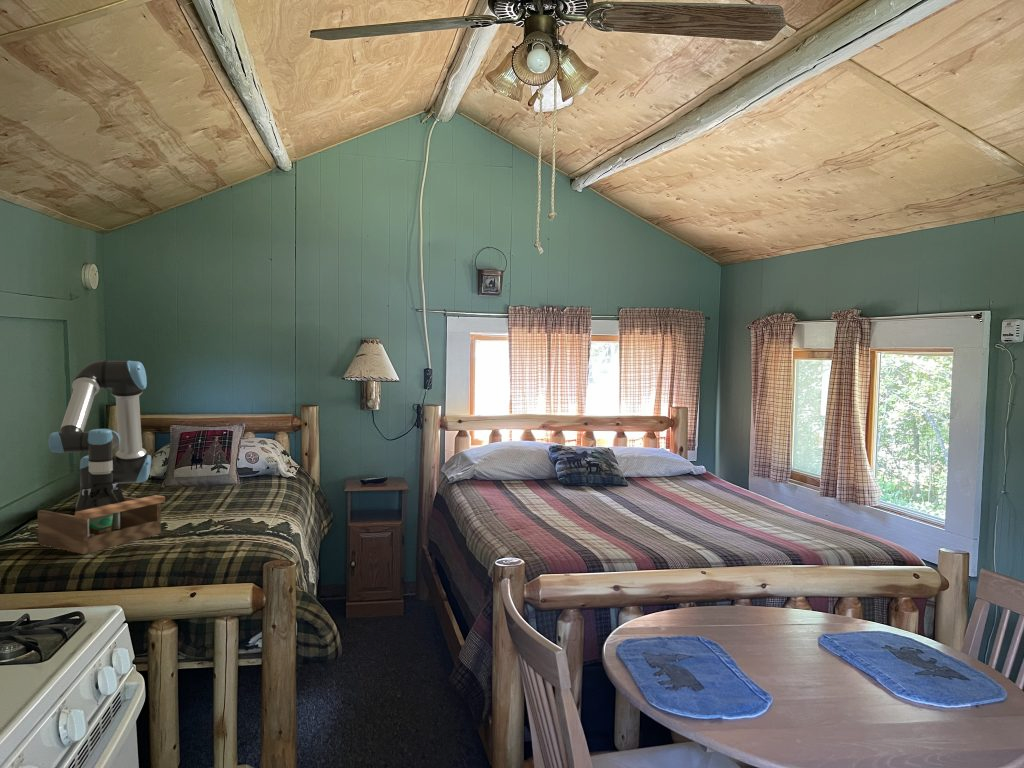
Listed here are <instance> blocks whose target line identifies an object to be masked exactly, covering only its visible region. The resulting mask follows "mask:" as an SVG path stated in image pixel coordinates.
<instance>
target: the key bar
mask: <svg viewBox="0 0 1024 768" xmlns="http://www.w3.org/2000/svg"><path fill="white" fill-rule="evenodd" d="M165 502H166V497H165V496H163V495H157V494H154V495H150V496H149V495H148V496H145V497H141V498H139V499H134V500H130V501H125V502H120V503H115V504H110V505H106V506H101V507H96V508H91V509H87V510H82V511H77V512H76V511H74V515H75V518H79V519H90V518H94V517H99V516H103V515H108V514H112V513H117V512H121V511H126V510H130V509H135V508H139V507H144V506H148V505H153V504H157V503H161V504H162V503H165Z"/></svg>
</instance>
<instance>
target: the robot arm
mask: <svg viewBox="0 0 1024 768" xmlns="http://www.w3.org/2000/svg"><path fill="white" fill-rule="evenodd" d="M146 373H147V372H146V369H145V367H144V364H143V363H142V362H141V361H138V360H137V361H135V360H96V361H94V362H91V363H89V364H87V365H86V366H85V367H83V368H82V369H80V370H79V372H78V373H77V374H76V375H75V377H74V378H73V381H72V384H71V388H72V390H73V391H72V394H71V397H70V399H69V402H68V404H67V405H68V406H67V407H66V411H65V414H64V417H63V421H62V422H61V425H60V428H59V431H55V432H51V433H50V434H49V437H48V442H47V443H48V448H49V450H50V451H51V453H60V454H65V453H68V454H69V453H88V455H85V456H83V457H82V458H81V459H80V460H79V462H80V463H79V478H80V479H79V483H80V484H79V485H80V486H79V487H80V489H79V490H80V491H79V495H78V497H77V500H76V503H75V512H77V511H82V510H87V509H91V508H96V507H101V506H106V505H108V504H115V503H120V502H125V499H124V497H123V496H124V494H123V491H122V488H121V486H122V485H121V484H137V483H145V482H146V481H147V480H148V479H149V476H150V472H151V466H152V465H151V464H152V455H150V454H147V450H146V449H145V448H143V442H142V441H143V440H142V437H143V436H142V426H141V425H142V424H141V409H140V407H141V406H140V405H141V404H140V396H141V395H142V394H143V392H144V390H146V388H147V386H148V385H147V384H148V382H147V379H148V378H147V374H146ZM103 389H104V390H110V394H111V395H112V396H113V397H114V398H115V405H116V420H117V432H116V431H115V430H112V429H110V428H96V429H90V430H89V431H84V430H85V428H86V425H87V421H88V418H89V416H90V412H91V409H92V405H93V402H94V399H95V396H96V395H97V394H98V393H99V392H100V390H103ZM117 448H119V450H117V451H116V452H115V455H113V451H115V450H116V449H117ZM114 496H116V498H117V500H116V499H115V497H114ZM73 516H75V514H74V515H73ZM121 518H122V511H121V512H117V513H113V528H112V529H115V530H119V529H121V528H120V519H121ZM87 522H88V537H89V519H87Z"/></svg>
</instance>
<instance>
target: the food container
mask: <svg viewBox="0 0 1024 768" xmlns="http://www.w3.org/2000/svg"><path fill="white" fill-rule="evenodd" d="M108 505H110V504H108ZM112 523H113V513H112V514H108V515H103V516H99V517H94V518H90V519H89V537H91V536H95V535H99V534H103V533H107V532H111V531H113V528H112Z"/></svg>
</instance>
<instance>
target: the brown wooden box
mask: <svg viewBox="0 0 1024 768" xmlns="http://www.w3.org/2000/svg"><path fill="white" fill-rule="evenodd" d="M114 497H115V499H116V500H117V498H116V496H115V495H114ZM123 497H124V499H125V501H130V500H134V499H139V498H137V497H133V496H125V495H123ZM161 504H162V503H157V504H153V505H148V506H144V507H139V508H135V509H130V510H126V511H122V518H121V519H120V529H115V530H112V531H111V532H107V533H103V534H99V535H95V536H91V537H88V522H87V519H79V518H75V516H74V515H72V514H68V513H61V512H56V511H49V510H45V509H39V510H37V545H38V544H42V545H46V546H51V547H55V548H54V549H56V548H60V549H63V550H62V551H65V550H67V551H66V552H70V551H71V553H75V552H76V553H75V554H81V555H86V554H91V553H93V552H94V553H95V552H97V551H98V552H99V551H100V550H102V551H103V550H104V549H108V548H112V547H113V548H114V547H116V546H119V545H123V544H128V543H130V542H134V541H135V542H136V541H139V540H142V539H146V538H149V537H153V536H158V535H161V534H162V522H161V521H162V516H161V515H162V511H161V508H162V507H161ZM112 529H114V528H113V523H112ZM46 546H45V547H46ZM51 547H50V548H51ZM60 549H59V550H60Z"/></svg>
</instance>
